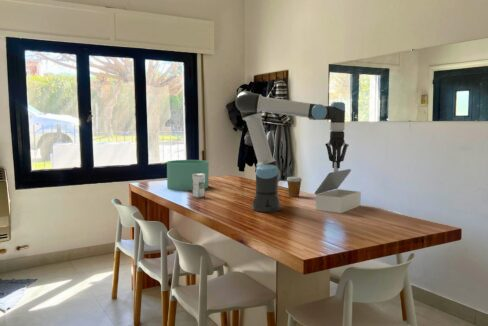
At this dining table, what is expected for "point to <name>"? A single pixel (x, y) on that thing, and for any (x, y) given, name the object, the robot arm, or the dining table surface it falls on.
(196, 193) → the syrup box
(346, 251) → the dining table surface
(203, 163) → the container
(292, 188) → the disposable coffee cup
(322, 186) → the cover
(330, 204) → the box
